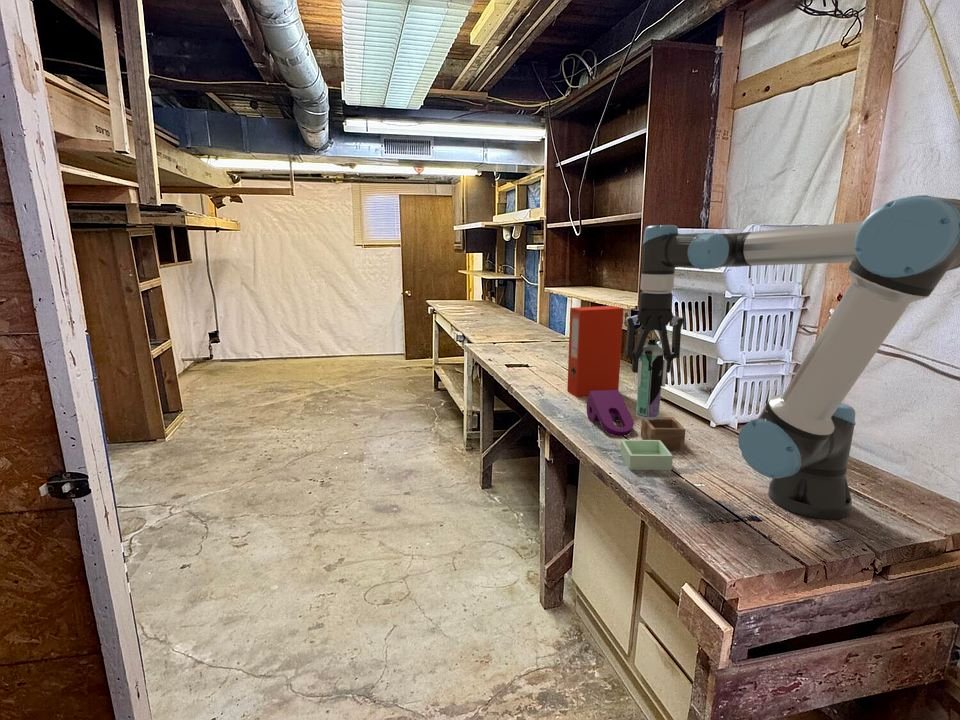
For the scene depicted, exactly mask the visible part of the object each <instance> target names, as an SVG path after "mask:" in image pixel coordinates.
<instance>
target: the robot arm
mask: <svg viewBox="0 0 960 720" xmlns="http://www.w3.org/2000/svg"><path fill="white" fill-rule="evenodd" d="M641 254H642V257H641V275H640V290H641V291H642V292H640V293H639V301H638V303H639V305H638V310H637V312H636V315H633V316H626V317H625V322H626V337H625V346H624V347H625V348H624V355H625V356H626V357H627V358H628V359H631V371H632V373H633V374H634V375H635V376H634V385H635V386H636V387H637V388H638V387H640V386H641V371H642V360H640V355H641V352H642V349H643V347H644V346H645V343H646V341H647V338H648V335H649V334H650V331H652V332H653V331H657V332H658V335H659V339H660V343H661V348H663V352H664V355H663V368H662V381H661V388H662V387H663V388H665V387H666V380H667V379H666V377H667V374H669V373H670V372H671V367H672V361H673V360H674V359H678V358H679V357H680V355H681V336H682V327H683V324H684V322H685V318H683V317H681V316H676V315H674V314H673V311H672V309H673V298H674V294H673V293H672V291H673V290H674V285H675V284H674V283H675V271H676V268H683V269H698V270H702V271H703V270H711V269H712V270H716V269H719V268H729V267H730V268H734V267H735V268H739V267H753V266H754V267H756V266H758V267H759V266H782V265H788V266H789V265H813V264H815V265H818V264H844V263H845V264H847V263H850V265H849V266H848V268H847V272H848V274H849V276H850V279H851V283H850V284H849V286H848V287H847V289H846V291H845V292H844V294H843V296H842V298H840V301H839V302H838V304H837V305H836V307H835V309H834V311H833V312H832V314H831V315H830V317H829V318H828V320H827V321H826V324H825V325H824V327H823V328H822V330H821V331H820V333H819V334H818V337H817V338H816V340H815V342H814V343H813V344H812V346H811V348H810V349H809V351H808V353H807V355H806V356H805V358H804V359H803V361H802V363H801V364H800V366H799V368H798V369H797V371H796V372H795V374H794V376H793V377H792V378H791V381H790V382H789V384H788V386H787V387H786V388H785V391H784V392H783V393H782V394H776V395H773V396H770V398H769V400H768V402H767V403H766V404H765V406H764V407H763V409H762V411H761V413H760V414H759V416H758V418H755V419H750V420H749V421H748V422H747V423H746V424H744V426H742V427H741V429H740V431H739V434H738V441H737V442H738V449H740V451H741V456H742V458H743V459H744V461H745V462H746V463H747V465H749V466H750V468H751V469H752V470H753V471H755V472H756V473H758V474H760V475H762V476H764V477H767V478H770V479H771V478H772V479H771V481H770V482H769V485H768V491H767V492H768V493H767V494H768V497H769V498H770V499H771V501H773V502H774V503H775V504H776V505H778V506H779V507H781V508H782V509H785V510H787V511H790V512H792V513H794V514H797V515H801V516H804V517H808V516H809V518H814V519H820V520H838V519H839V520H841V519H844V518H846V517H848V516H849V515H850V514H851V510H852V505H853V501H852V497H851V492H850V491H851V490H850V487H849V483H848V480H847V471H848V465H849V461H850V460H849V458H850V453H851V447H852V441H853V435H854V429H855V426H856V425H857V424H856V410H855V408H853V407H852V406H851V405H849V404H846V403H844V402H843V401H844V400H845V398H846V397H847V396H848V394H849V392H850V391H851V390H852V388H853V386H854V385H855V384H856V382H858V380H859V378H860V376H861V375H862V373H863V372H864V371H865V369H866V368H867V366H869V365H868V364H869V363H870V362H871V361H872V359H873V358H874V356H875V355H876V353H877V352H878V350H879V349H880V347H881V346H882V344H883V343H884V341H885V340H886V339H887V337H888V336H889V335H890V333H891V331H892V330H893V329H894V327H895V326H896V325H897V323H898V322H899V320H900V318H901V317H902V316H903V314H904V313H905V311H906V309H907V308H908V307H909V306H910V304H911V303H914V302H917V301H921V300H924V299H927V298H929V297H930V295H931V294H932V293H933V291H934V290H935V288H937V286H938V284H939V283H940V281H941V280H942V278H943V277H944V276H945V275H946V274H947V272H949V271H951V270H952V271H953V270H956V269H960V199H957V198H944V197H939V196H931V195H928V194H926V195H925V194H924V195H920V194H919V195H913V196H911V195H910V196H907V197H901V198H897V199H894V200H891V201H889V202H887V203H885V204H882V205H881V206H879V207H877V208H875V210H873V211H872V212H871V213H869V215H868V216H867V217H866V218H865V219H864V220H862V221H861V220H860V221H852V222H841V223H840V222H839V223H832V224H821V225H810V226H800V227H799V226H798V227H789V228H780V229H779V228H778V229H770V230H769V229H768V230H759V231H757V230H756V231H747V232H734V233H714V232H702V233H698V232H697V233H696V232H695V233H694V232H693V233H679V227H678V226H677V225H676V224H675V225H674V224H660V225H655V224H654V225H648V226H647V227H645V229H644V234H643V241H642V253H641ZM637 321H638V322H639V323H640V324H641V327H640V330H639V335H638V337H637V340H636V342H635V346H634V338H635V326H636V325H637ZM669 323H671V325H672V334H671V336H672V337H671V347H670V342H669V338H668V328H667V326H668V325H669ZM633 348H634V349H633Z"/></svg>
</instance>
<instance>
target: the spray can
mask: <svg viewBox="0 0 960 720" xmlns="http://www.w3.org/2000/svg"><path fill="white" fill-rule="evenodd" d="M639 359H640V360H642V371H641V386H640V387H637V396H636V409H635V410H636V411H635V416H636V418H638V419H640V420H642V419H644V420H656V419H658V418H659V416H660V406H661V404H660V403H661V393H662V392H661V391H662V386H661V381H662V368H663V359H664V352H663V348H662V346H659V343H658V342H657V338H650V339H649V340H648V342H647V343H646V345H644V347H643V349H642V352H641V355H640V358H639Z"/></svg>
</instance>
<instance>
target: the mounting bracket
mask: <svg viewBox="0 0 960 720" xmlns="http://www.w3.org/2000/svg"><path fill="white" fill-rule="evenodd" d="M586 416H587V419H588V421H589V422H591V423H600V426H601V428H602V429H603V430H604V432H606V433H607V434H608V435H610V436H613V437H625V436H624V435H626V436H629V435H630V434H631V433H632V431H633V429H634V425H635V421H634V419H633V416H632V415H631V413H630V411H629V409H628V407H627V405H626V403H625V401H624V398H623V396H622V395H621V393H620V390H619V389H618V390H601V391H590V392H589V396H587V401H586ZM615 422H619V423H620V424H621V427H619V426H616V424H615ZM628 434H629V435H628Z"/></svg>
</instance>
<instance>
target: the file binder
mask: <svg viewBox="0 0 960 720" xmlns="http://www.w3.org/2000/svg"><path fill="white" fill-rule="evenodd" d="M623 318H624V308H623V307H620V306H614V305H600V306H599V305H597V306H585V307H584V306H583V307H570V311H569V334H568V335H569V337H568V362H567V363H568V364H567V368H568V369H567V387H566V388H567V389H566V390H567V392H568V393H569V394H571V395H572V396H574V397H575V398H582V397H583V398H584V397H588V396H589V392H590V391H601V390H619V387H620V386H619V385H620V372H621V371H620V370H621V352H622V340H623V339H622V336H623V323H624V321H623V320H624V319H623Z"/></svg>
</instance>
